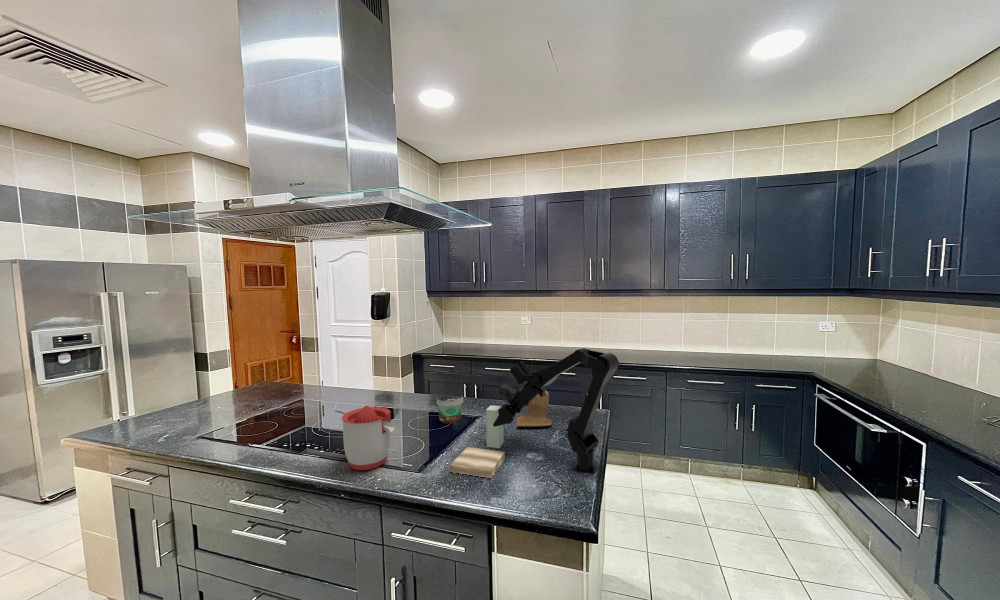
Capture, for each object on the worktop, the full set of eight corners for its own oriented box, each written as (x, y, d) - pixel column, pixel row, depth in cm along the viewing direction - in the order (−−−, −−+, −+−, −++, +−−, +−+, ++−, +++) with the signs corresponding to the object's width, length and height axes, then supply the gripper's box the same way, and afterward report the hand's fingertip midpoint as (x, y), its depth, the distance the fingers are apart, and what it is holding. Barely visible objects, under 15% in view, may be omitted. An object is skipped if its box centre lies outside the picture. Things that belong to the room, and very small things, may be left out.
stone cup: (549, 419, 169) (548, 385, 169) (553, 429, 157) (553, 393, 157) (515, 419, 169) (514, 386, 168) (516, 430, 157) (516, 394, 156)
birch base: (491, 479, 118) (490, 471, 118) (450, 472, 123) (449, 465, 123) (504, 459, 132) (504, 452, 132) (467, 453, 136) (467, 446, 136)
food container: (440, 426, 162) (439, 403, 162) (436, 421, 168) (436, 399, 168) (467, 421, 167) (467, 399, 167) (463, 417, 173) (462, 395, 173)
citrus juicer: (383, 476, 121) (381, 414, 120) (333, 472, 124) (331, 412, 123) (404, 454, 137) (402, 399, 136) (359, 451, 139) (357, 397, 138)
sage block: (499, 448, 140) (498, 410, 140) (486, 446, 142) (486, 409, 141) (503, 442, 145) (503, 406, 144) (491, 441, 147) (490, 405, 146)
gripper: (518, 372, 149) (491, 397, 153) (503, 384, 131) (473, 412, 135) (538, 393, 147) (510, 418, 151) (525, 409, 129) (495, 437, 133)
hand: (497, 421), depth 143 cm, fingers open, 9 cm apart
